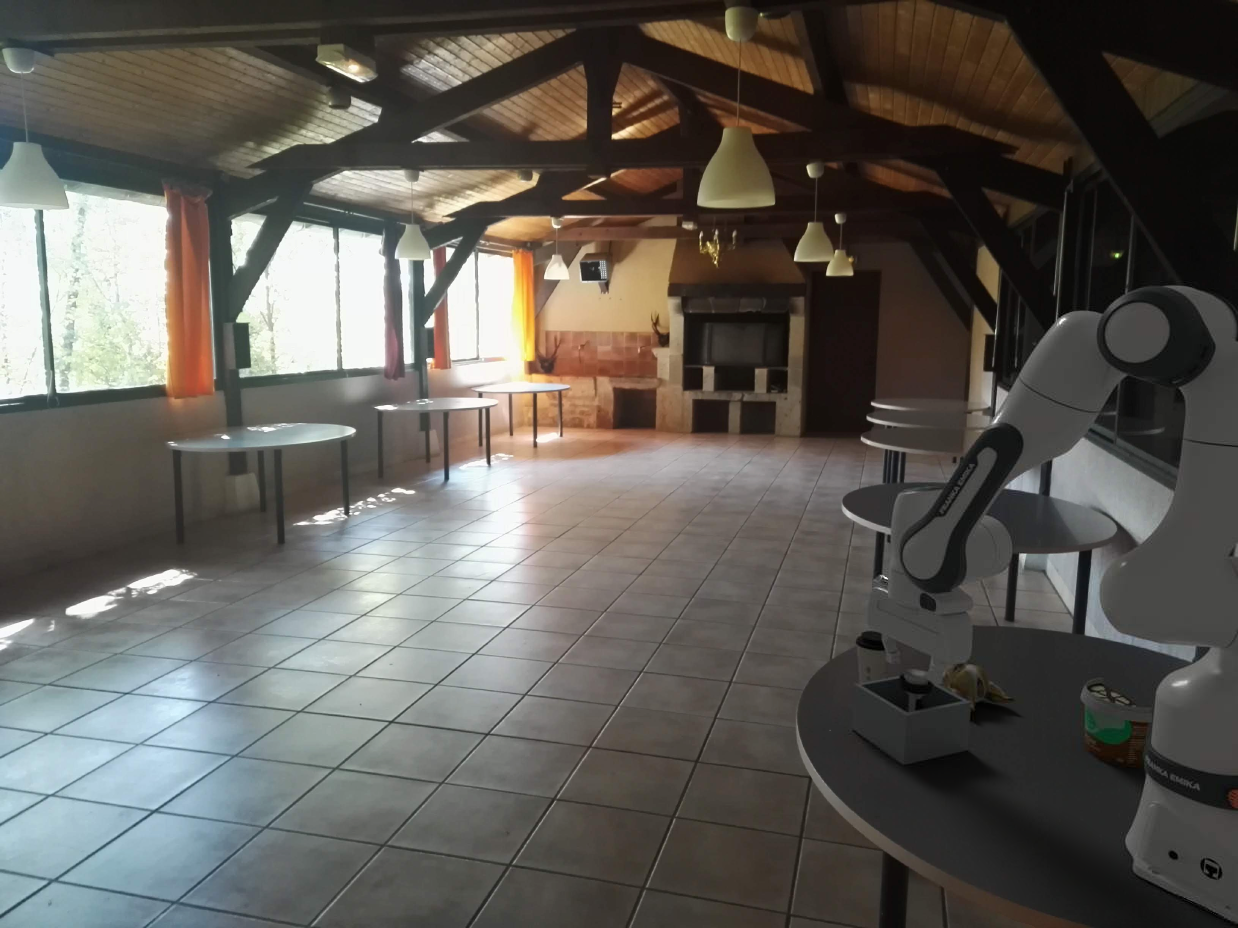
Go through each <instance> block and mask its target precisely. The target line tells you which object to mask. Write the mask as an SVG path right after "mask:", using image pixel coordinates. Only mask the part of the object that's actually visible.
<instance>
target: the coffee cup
mask: <svg viewBox="0 0 1238 928" xmlns="http://www.w3.org/2000/svg"><path fill="white" fill-rule="evenodd" d="M855 644H856V651H857V652H856V653H857V654H856V655H857V662H858V663H857V664H858V667H857V668H858V675H859V677H858V679H859V683H863V682H868V681H874V680H879V679H885V678H889V672H890V667H891V663H889V662H887V661H886V650H885V648H884V645H883V642H882V634H881V633H879V632H877V631H875V630H868V631H867V630H866V631H863V632H861V634H860V635H859V636H858V637H857V638H856V640H855Z"/></svg>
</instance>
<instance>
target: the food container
mask: <svg viewBox="0 0 1238 928" xmlns="http://www.w3.org/2000/svg"><path fill="white" fill-rule="evenodd" d="M1085 683H1086V684H1084V686H1083V689H1082V691H1081V694H1080V701H1081V702H1082V703H1083V704H1084V715H1085V716H1084V720H1085V721H1084V725H1085V726H1084V733H1085V734H1084V736H1085V737H1084V739H1085V740H1084V741H1085V743H1084V744H1085V745H1084V748H1085V750H1086V752H1087V753H1088V754H1089V755H1091V756H1092V757H1094V758H1096V759H1097V760H1100V761H1103V762H1105V763H1108V764H1111V765H1114V766H1120V767H1125V768H1133V769H1134V768H1135V769H1136V768H1138V769H1139V768H1142V767H1141V765H1142V760H1143V755H1144V750H1145V746H1146V745H1145V744H1146V739H1147V734H1148V729H1149V723H1152V724H1153V713H1152V707H1140V706H1139V705H1137V704H1135V702H1133V701H1132V700H1131V699H1130V698H1129V697H1128V696H1126V695H1125V694H1124V693H1120V692H1118V691H1115V690H1113V689H1111V688H1110V687H1108V686H1107V685H1105V684H1104V678H1103V677H1098V678H1093V679H1090V680H1088V681H1087V682H1085Z"/></svg>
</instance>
